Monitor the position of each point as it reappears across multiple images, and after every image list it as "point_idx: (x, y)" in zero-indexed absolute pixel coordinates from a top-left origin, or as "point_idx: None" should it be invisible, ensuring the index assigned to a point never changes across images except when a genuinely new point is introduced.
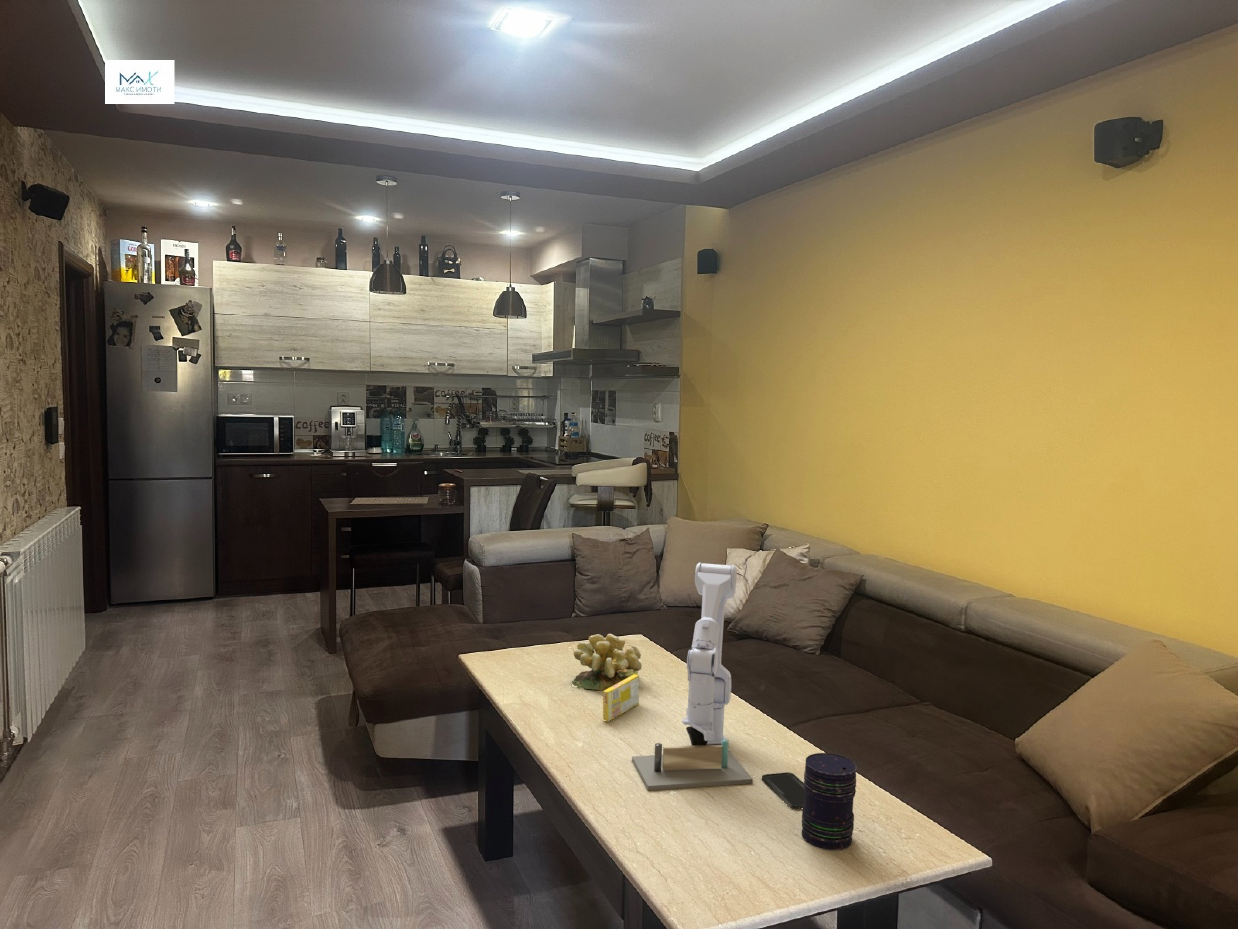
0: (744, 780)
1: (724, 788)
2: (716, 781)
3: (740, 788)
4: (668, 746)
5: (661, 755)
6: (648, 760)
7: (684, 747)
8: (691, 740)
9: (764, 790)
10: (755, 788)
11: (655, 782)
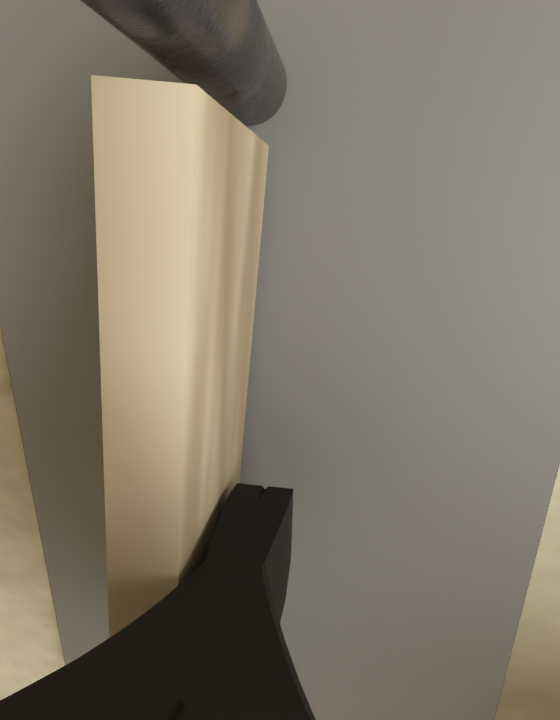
0: (66, 649)
1: (26, 515)
2: (35, 504)
3: (29, 591)
4: (168, 194)
5: (166, 68)
6: (523, 36)
7: (119, 448)
8: (182, 623)
9: (12, 677)
10: (32, 652)
11: None
